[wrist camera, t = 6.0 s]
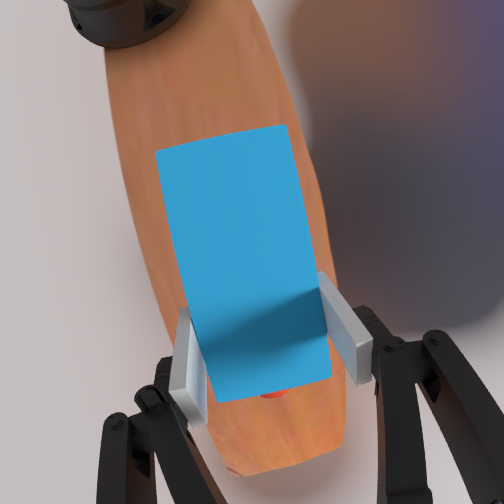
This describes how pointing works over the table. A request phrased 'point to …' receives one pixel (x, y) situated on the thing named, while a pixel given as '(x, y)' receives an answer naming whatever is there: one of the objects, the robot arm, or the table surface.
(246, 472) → the table surface
